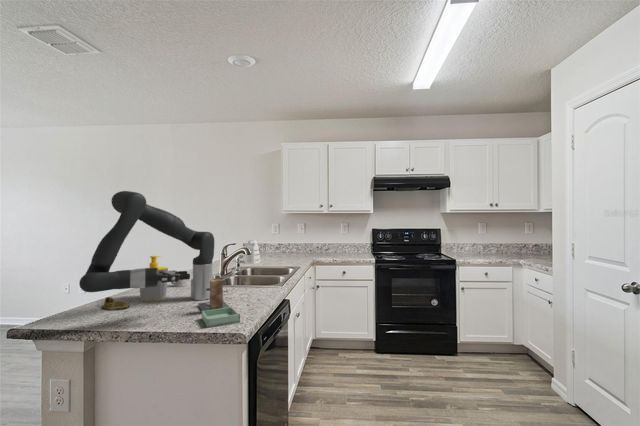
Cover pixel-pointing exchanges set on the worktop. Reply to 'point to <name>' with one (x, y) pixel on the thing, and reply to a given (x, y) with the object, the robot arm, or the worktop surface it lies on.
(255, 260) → the grater
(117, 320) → the worktop surface
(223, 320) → the tray
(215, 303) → the brown wooden block
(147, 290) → the soap bottle
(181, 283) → the mug
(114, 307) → the seal
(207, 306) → the crank bed
